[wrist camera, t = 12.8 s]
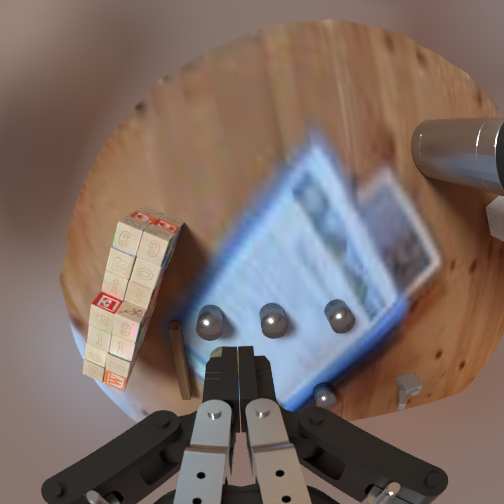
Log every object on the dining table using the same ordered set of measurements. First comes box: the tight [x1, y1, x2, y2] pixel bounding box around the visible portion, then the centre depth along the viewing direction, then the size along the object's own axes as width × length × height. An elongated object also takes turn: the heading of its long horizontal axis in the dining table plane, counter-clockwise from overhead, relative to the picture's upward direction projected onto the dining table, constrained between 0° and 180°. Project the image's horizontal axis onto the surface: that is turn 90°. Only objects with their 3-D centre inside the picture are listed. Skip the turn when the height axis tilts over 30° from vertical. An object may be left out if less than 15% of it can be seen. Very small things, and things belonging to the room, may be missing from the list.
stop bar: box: [168, 321, 192, 400], centre depth 45 cm, size 2×15×2 cm, turn 1°
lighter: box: [396, 372, 423, 410], centre depth 47 cm, size 7×2×8 cm, turn 95°
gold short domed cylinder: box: [210, 346, 239, 378], centre depth 45 cm, size 5×5×4 cm
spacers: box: [196, 299, 355, 410], centre depth 45 cm, size 24×22×4 cm
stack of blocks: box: [83, 207, 184, 391], centre depth 35 cm, size 21×6×12 cm, turn 156°
